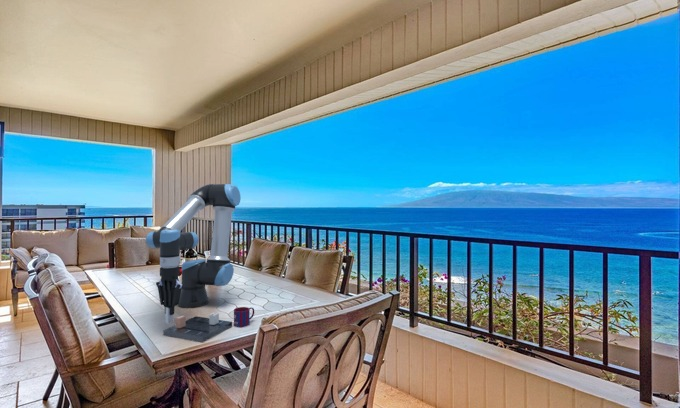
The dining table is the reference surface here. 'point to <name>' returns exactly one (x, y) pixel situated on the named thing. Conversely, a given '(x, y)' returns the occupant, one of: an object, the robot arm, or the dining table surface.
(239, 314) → the mug
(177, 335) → the dark grey slider board
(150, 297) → the dining table surface
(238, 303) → the dining table surface
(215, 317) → the fader
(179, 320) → the fader
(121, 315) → the dining table surface
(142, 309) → the dining table surface
